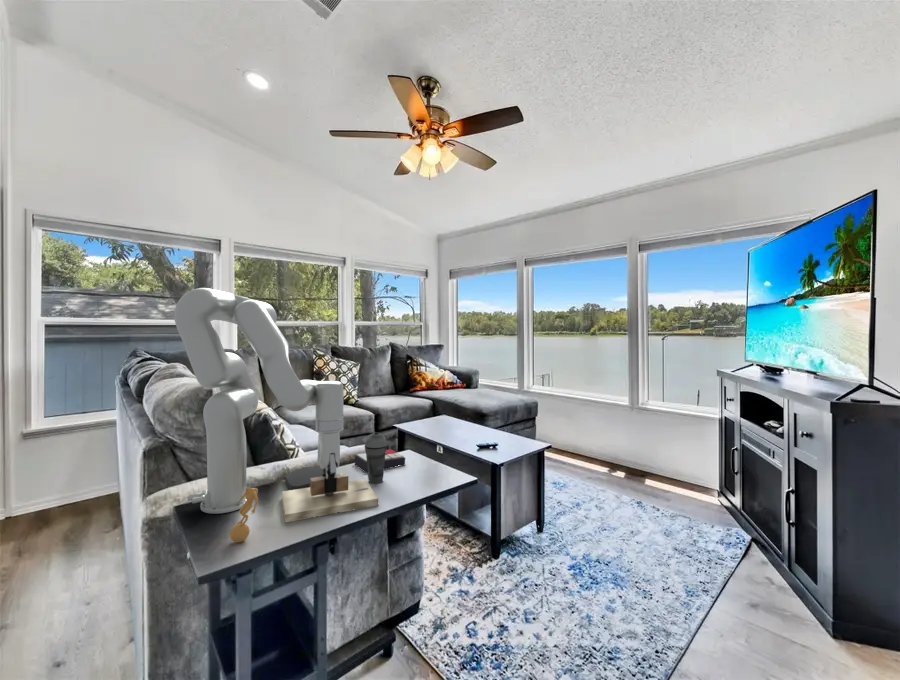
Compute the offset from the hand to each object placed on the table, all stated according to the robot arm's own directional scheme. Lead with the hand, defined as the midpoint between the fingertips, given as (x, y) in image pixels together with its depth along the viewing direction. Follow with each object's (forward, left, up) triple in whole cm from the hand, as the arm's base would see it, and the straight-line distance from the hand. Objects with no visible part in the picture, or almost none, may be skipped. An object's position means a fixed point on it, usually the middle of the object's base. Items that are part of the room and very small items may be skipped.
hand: (329, 488), depth 113 cm
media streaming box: (-3, +18, -4) cm, 19 cm away
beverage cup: (+16, +10, -4) cm, 19 cm away
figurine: (-21, -13, -4) cm, 25 cm away
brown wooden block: (0, 0, -2) cm, 2 cm away
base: (0, 0, -4) cm, 4 cm away
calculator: (+22, +26, -4) cm, 34 cm away
